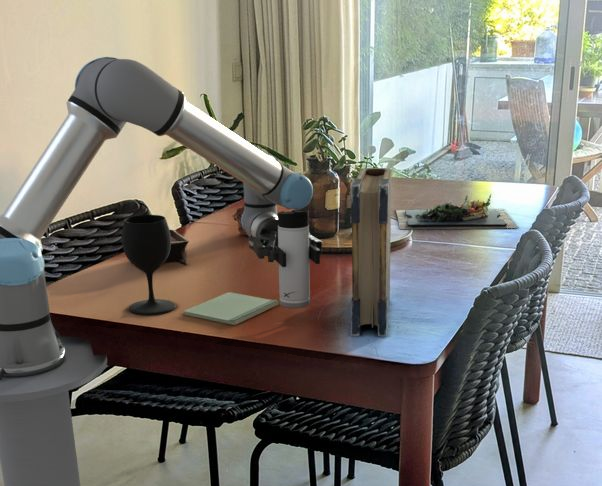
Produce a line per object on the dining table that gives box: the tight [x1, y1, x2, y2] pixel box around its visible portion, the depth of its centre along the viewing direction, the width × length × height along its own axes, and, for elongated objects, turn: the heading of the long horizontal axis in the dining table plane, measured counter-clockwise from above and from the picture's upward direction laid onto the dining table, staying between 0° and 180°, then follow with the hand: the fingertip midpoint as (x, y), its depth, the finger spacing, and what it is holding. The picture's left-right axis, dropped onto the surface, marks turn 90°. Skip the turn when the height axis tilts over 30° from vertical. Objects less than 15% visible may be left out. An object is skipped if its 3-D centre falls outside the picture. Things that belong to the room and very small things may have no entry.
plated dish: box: [395, 193, 518, 230], centre depth 267 cm, size 35×28×7 cm
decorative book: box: [349, 167, 392, 338], centre depth 177 cm, size 23×7×30 cm, turn 172°
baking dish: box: [164, 228, 190, 266], centre depth 226 cm, size 14×18×10 cm
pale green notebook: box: [182, 291, 280, 326], centre depth 189 cm, size 16×14×1 cm
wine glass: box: [121, 214, 177, 316], centre depth 188 cm, size 10×10×20 cm
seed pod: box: [232, 205, 278, 237], centre depth 253 cm, size 13×16×15 cm
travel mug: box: [277, 209, 311, 310], centre depth 175 cm, size 6×7×20 cm
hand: (301, 258), depth 170 cm, fingers closed on travel mug, 6 cm apart
